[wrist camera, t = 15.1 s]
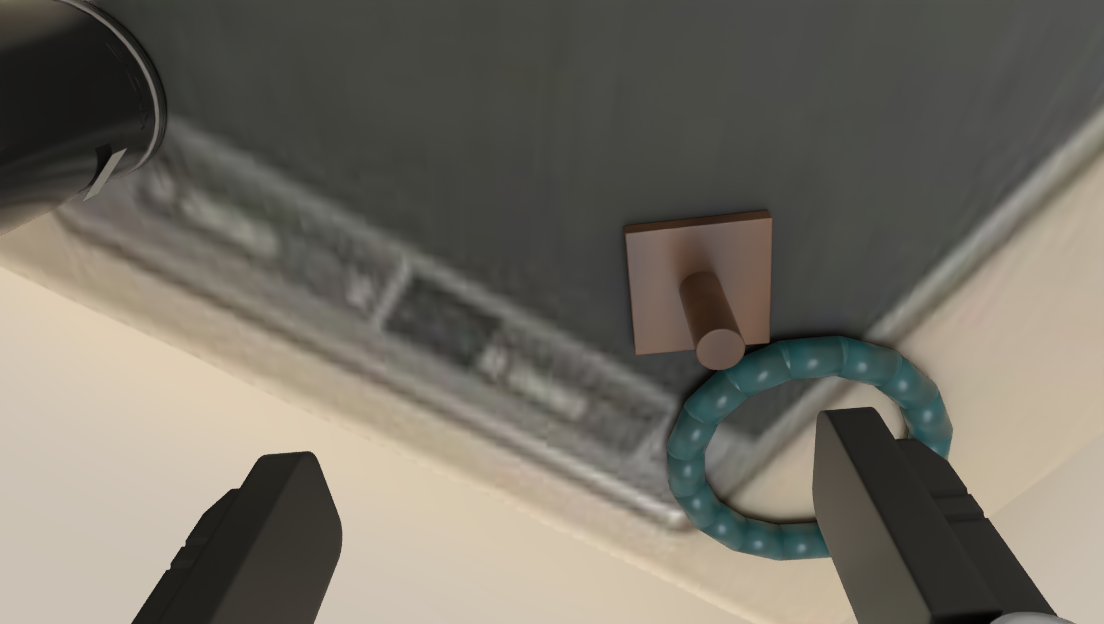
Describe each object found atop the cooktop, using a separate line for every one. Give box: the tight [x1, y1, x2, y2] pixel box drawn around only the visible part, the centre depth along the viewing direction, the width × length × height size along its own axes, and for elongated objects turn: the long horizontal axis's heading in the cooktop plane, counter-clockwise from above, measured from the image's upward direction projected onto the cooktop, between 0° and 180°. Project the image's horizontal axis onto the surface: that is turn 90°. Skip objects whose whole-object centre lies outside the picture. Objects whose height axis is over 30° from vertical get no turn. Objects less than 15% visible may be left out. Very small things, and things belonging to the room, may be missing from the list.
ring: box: [667, 336, 953, 561], centre depth 45 cm, size 18×18×2 cm
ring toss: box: [624, 210, 773, 370], centre depth 37 cm, size 8×8×8 cm
